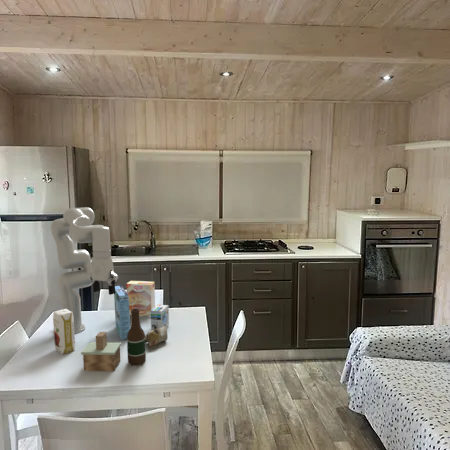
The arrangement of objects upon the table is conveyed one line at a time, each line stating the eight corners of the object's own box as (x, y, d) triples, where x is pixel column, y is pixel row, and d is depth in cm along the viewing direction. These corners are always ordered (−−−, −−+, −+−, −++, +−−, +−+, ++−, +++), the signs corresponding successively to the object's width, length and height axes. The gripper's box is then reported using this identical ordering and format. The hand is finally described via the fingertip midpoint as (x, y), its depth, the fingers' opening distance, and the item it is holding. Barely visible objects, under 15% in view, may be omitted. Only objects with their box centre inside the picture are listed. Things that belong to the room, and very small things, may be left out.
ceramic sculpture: (173, 324, 200) (148, 335, 189) (174, 341, 201) (149, 353, 190) (159, 320, 207) (134, 330, 196) (160, 336, 208) (136, 346, 198)
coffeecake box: (127, 315, 238) (125, 283, 236) (131, 311, 245) (130, 280, 243) (151, 317, 236) (150, 284, 233) (155, 313, 243) (154, 281, 240)
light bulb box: (162, 330, 215) (162, 311, 214) (150, 330, 217) (150, 310, 215) (169, 323, 226) (168, 304, 224) (157, 322, 227) (157, 304, 226)
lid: (81, 357, 171) (80, 338, 170) (90, 347, 181) (89, 329, 179) (114, 357, 170) (113, 338, 169) (121, 347, 180) (120, 329, 179)
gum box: (130, 338, 205) (129, 294, 202) (120, 340, 203) (118, 296, 200) (124, 325, 223) (122, 285, 220) (114, 327, 221) (113, 286, 218)
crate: (83, 370, 172) (82, 353, 171) (91, 361, 181) (90, 345, 180) (114, 371, 171) (113, 354, 170) (120, 361, 180) (119, 345, 179)
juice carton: (69, 345, 198) (67, 307, 195) (77, 350, 191) (74, 311, 189) (53, 350, 192) (51, 311, 190) (61, 355, 186) (58, 315, 184)
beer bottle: (137, 367, 174) (135, 314, 171) (124, 363, 178) (122, 310, 175) (149, 360, 181) (148, 308, 178) (136, 356, 185) (134, 305, 182)
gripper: (81, 254, 180) (84, 292, 182) (109, 257, 171) (111, 297, 173) (95, 252, 186) (97, 288, 188) (122, 254, 177) (124, 292, 179)
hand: (104, 292), depth 180 cm, fingers open, 9 cm apart
